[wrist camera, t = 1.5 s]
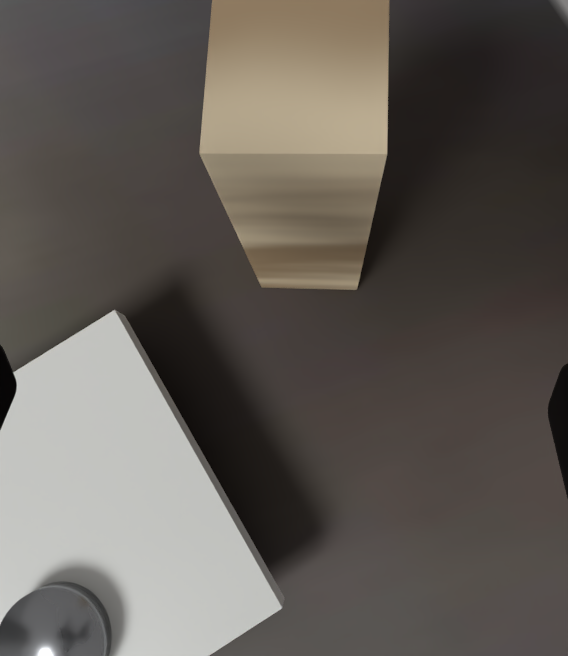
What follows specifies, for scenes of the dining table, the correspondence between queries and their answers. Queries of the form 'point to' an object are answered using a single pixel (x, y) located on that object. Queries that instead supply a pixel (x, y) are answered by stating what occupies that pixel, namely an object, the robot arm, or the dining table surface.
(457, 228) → the dining table surface
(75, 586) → the silver metal dome
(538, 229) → the dining table surface
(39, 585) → the white square board
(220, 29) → the beech post
